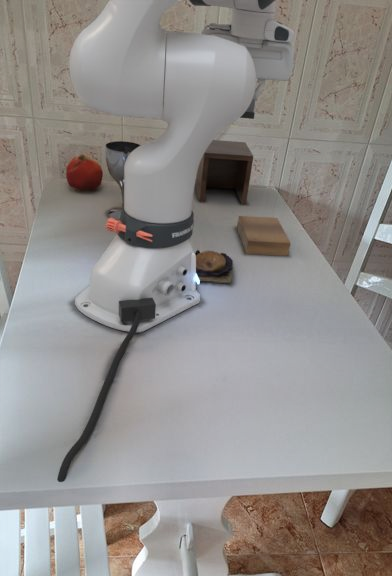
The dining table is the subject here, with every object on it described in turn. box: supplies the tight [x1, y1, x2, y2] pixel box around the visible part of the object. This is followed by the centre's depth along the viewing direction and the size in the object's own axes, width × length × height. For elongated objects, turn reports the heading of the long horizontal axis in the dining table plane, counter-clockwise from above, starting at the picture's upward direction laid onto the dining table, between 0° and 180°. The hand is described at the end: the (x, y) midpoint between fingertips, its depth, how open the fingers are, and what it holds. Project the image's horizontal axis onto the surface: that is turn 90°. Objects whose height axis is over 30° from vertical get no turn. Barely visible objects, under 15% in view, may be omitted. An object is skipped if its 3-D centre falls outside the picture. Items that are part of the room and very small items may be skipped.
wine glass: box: [104, 140, 142, 221], centre depth 108 cm, size 8×8×15 cm
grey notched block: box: [239, 99, 256, 120], centre depth 110 cm, size 10×5×6 cm, turn 4°
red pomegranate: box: [65, 153, 104, 191], centre depth 121 cm, size 9×9×8 cm
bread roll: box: [195, 249, 234, 284], centre depth 94 cm, size 11×8×4 cm
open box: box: [195, 139, 254, 205], centre depth 125 cm, size 12×12×12 cm
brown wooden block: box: [236, 215, 291, 257], centre depth 107 cm, size 13×9×3 cm
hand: (241, 99), depth 111 cm, fingers closed on grey notched block, 4 cm apart
